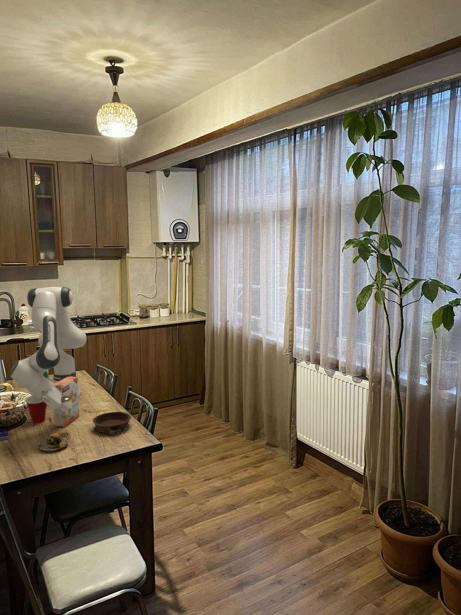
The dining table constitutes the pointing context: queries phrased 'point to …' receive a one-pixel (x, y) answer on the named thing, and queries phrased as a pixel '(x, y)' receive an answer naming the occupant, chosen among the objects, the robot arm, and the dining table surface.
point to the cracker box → (71, 389)
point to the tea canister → (68, 413)
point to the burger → (54, 443)
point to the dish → (112, 422)
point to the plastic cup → (36, 408)
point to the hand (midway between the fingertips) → (67, 406)
